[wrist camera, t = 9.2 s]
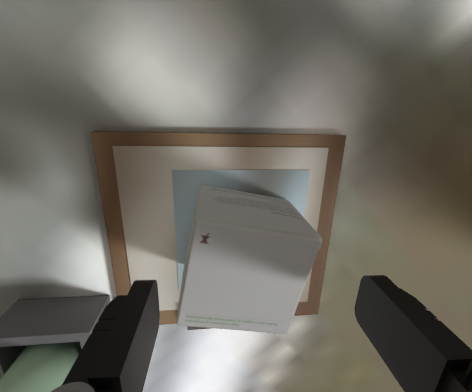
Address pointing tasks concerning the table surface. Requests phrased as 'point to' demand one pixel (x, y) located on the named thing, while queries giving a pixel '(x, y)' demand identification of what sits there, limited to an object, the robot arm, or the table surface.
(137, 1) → the table surface
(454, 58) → the table surface
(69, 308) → the button housing
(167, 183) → the picture frame
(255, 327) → the small box
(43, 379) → the button
